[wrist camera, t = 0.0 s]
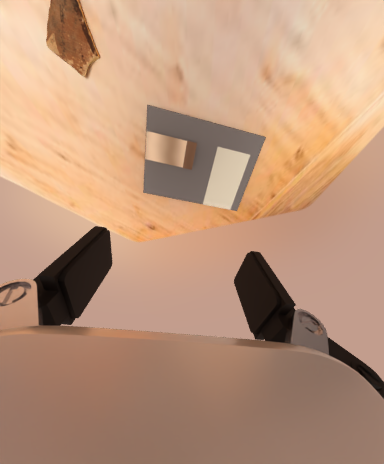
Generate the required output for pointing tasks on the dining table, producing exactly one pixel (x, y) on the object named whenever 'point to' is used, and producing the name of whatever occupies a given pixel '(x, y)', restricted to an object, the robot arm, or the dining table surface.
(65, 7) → the shard
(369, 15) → the dining table surface
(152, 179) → the mat
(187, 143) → the tan tapered block
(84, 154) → the dining table surface
